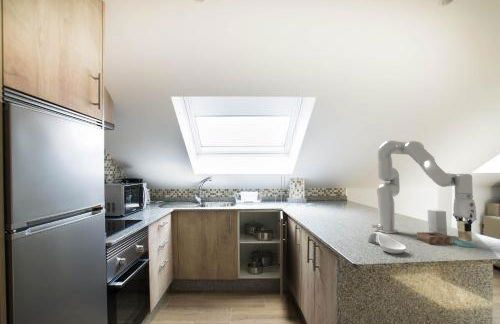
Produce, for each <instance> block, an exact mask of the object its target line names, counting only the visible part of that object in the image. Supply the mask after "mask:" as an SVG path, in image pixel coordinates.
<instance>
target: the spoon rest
mask: <svg viewBox="0 0 500 324" xmlns="http://www.w3.org/2000/svg"><path fill="white" fill-rule="evenodd" d="M376 240H378V243H379V246H380V248H381V249H382V250H383V251H384V252H386V253H389V254H394V255H397V254H399V255H400V254H402V253H404V252H405V251H406V250H407V246H406V245H405V244H403V243H402V242H399V241H397V240H396V239H394V238H392V237H391V236H389V235H387V234H385V233H384V232H379V231H373V232H371V233H370V234H369V236H368V238H367V243H376V242H377V241H376Z"/></svg>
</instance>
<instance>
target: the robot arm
mask: <svg viewBox="0 0 500 324" xmlns="http://www.w3.org/2000/svg"><path fill="white" fill-rule="evenodd" d="M393 154H394V155H408V156H410V157H411V158H412V160H414V161H415V163H417V164H418V165H419V167H420V168H421V169H422V171H423V172H424V173H425V175H427V177H428V178H430V179H431V181H433V182H434V183H435V184H436V185H437V186H440V187H443V188H445V187H446V188H447V187H452V186H453V187H454V199H453V207H452V208H453V212H452V216H453V217H454V218H455V220H456V222H457V224H456V226H457V228H456V229H457V230H458V221H465V222H466V224H465V231H471V232H472V225H473V223H474V222H475V221H477V208H476V202H475V199H474V194H473V192H474V191H473V190H474V189H473V175H472V174H470V173H449V172H447V173H446V172H445V171H444V170H443V169H442V168H441V167H440V166H439V165H438V163H437V162H436V160H435V157H434V155H432V154H431V153H430V152H429V151H428V150H427V149H425V145H424V144H423V143H422V142H419V141H416V140H411V141H397V140H387V141H385V142H383V143H381V144H380V145H379V147H378V149H377V172H378V173H377V174H378V179H379V180H381V181H382V182H384V183H380V184H379V185H378V187H377V189H376V194H377V203H378V204H377V205H378V206H377V207H378V208H377V209H378V210H377V211H378V212H377V213H378V214H377V215H378V221H377V223H376V224H371V225H370V226H371V229H374V228H375V230H376V232H381V233H383V234H385V233H386V234H397V233H398V229H396V227H395V226H396V225H395V223H396V222H395V221H396V220H395V216H396V215H395V199H394V197H396V196H398V195H399V194H400V175H399V174H400V173H399V171H398V170H397V168H396V167H393V158H392V155H393Z"/></svg>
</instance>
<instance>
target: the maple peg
mask: <svg viewBox="0 0 500 324" xmlns="http://www.w3.org/2000/svg"><path fill="white" fill-rule="evenodd" d="M465 224H466V222H465V220H463V221H458V229H457V235H458V241H464V242H472V241H473V238H472V237H473V236H472V235H473V234H472V232H473V231H472V230H471V231H465Z"/></svg>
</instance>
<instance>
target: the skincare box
mask: <svg viewBox="0 0 500 324" xmlns="http://www.w3.org/2000/svg"><path fill="white" fill-rule="evenodd" d="M427 225H428V226H427V228H428V232H437V233H440V234H443V235H446V236H448V228H447V227H448V226H447V225H448V224H447V211H446V210H442V209H441V210H440V209H427Z"/></svg>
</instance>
